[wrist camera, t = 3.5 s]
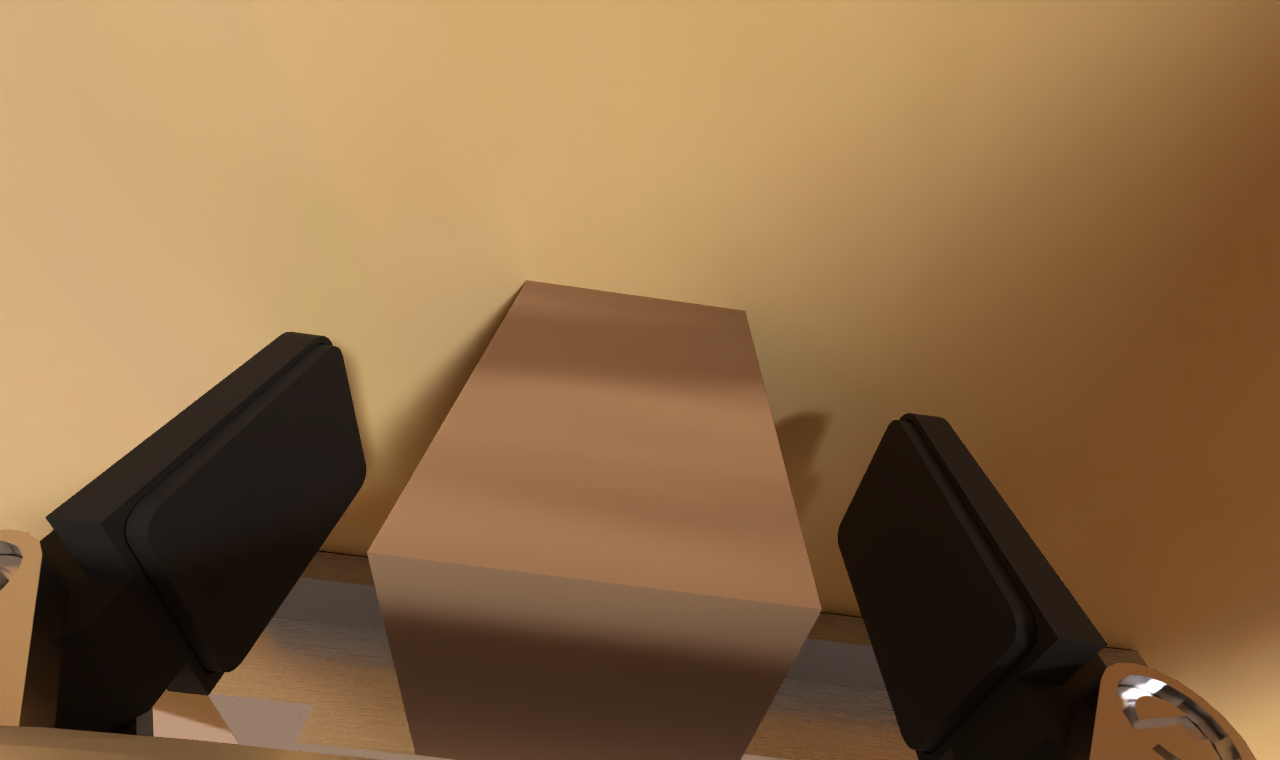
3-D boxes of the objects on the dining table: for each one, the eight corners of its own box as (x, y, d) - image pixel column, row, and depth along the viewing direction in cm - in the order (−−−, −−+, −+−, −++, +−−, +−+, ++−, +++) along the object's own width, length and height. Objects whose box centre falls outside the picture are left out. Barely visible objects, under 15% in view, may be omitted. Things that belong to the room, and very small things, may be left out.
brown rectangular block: (526, 279, 10) (367, 552, 5) (745, 311, 10) (822, 608, 5) (524, 467, 12) (420, 774, 7) (697, 489, 12) (714, 807, 7)
